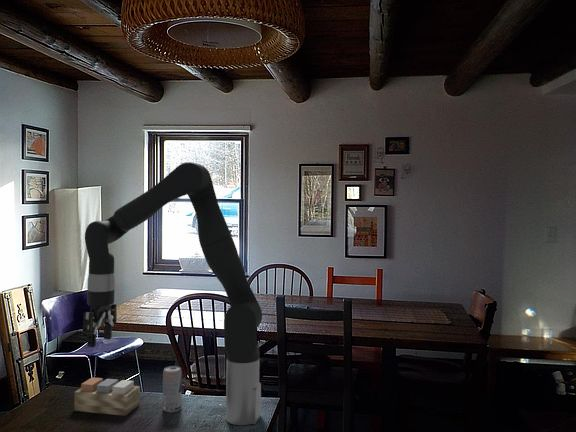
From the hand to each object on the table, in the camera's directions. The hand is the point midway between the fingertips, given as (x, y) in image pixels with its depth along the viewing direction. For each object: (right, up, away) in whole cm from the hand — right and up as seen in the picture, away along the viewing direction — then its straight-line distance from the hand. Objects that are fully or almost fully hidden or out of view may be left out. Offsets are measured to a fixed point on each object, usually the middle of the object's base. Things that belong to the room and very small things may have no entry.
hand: (99, 342), depth 149 cm
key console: (+2, -19, 0) cm, 19 cm away
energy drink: (+22, -20, -1) cm, 29 cm away
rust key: (-3, -15, +1) cm, 15 cm away
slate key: (+2, -15, 0) cm, 15 cm away
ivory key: (+7, -15, -1) cm, 16 cm away
